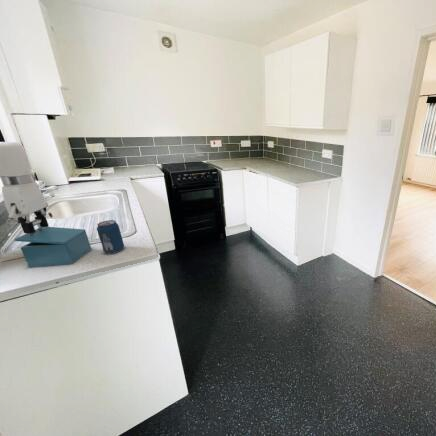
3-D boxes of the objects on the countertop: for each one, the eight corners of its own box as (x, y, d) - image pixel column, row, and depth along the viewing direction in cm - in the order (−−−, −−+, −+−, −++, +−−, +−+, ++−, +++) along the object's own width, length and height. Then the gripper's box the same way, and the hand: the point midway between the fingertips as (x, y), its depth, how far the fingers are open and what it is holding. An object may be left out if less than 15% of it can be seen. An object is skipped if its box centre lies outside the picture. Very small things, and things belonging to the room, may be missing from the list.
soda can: (123, 245, 103) (115, 218, 99) (126, 250, 98) (118, 222, 94) (103, 250, 99) (94, 222, 94) (105, 256, 94) (96, 227, 90)
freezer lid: (15, 241, 83) (11, 226, 81) (42, 228, 94) (40, 214, 92) (64, 244, 86) (61, 229, 84) (85, 231, 97) (83, 218, 95)
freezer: (29, 267, 87) (20, 247, 84) (54, 251, 98) (46, 233, 95) (71, 264, 89) (64, 244, 86) (91, 249, 100) (85, 231, 97)
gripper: (27, 175, 90) (44, 221, 96) (-21, 185, 74) (2, 240, 80) (50, 175, 91) (65, 221, 97) (7, 185, 75) (28, 239, 81)
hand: (36, 229), depth 89 cm, fingers closed on freezer lid, 5 cm apart
